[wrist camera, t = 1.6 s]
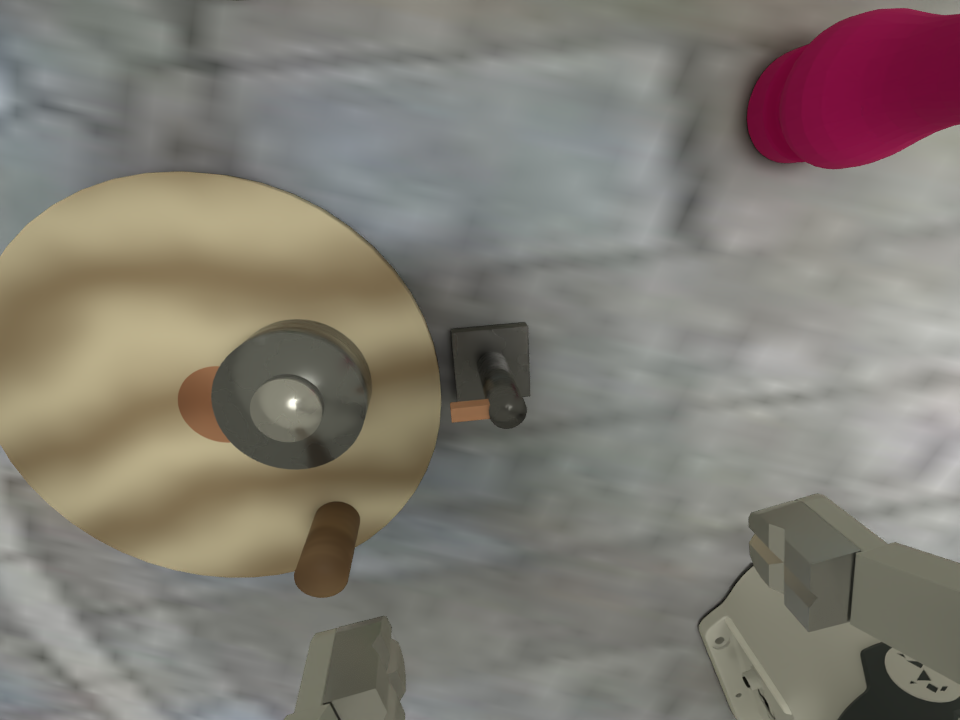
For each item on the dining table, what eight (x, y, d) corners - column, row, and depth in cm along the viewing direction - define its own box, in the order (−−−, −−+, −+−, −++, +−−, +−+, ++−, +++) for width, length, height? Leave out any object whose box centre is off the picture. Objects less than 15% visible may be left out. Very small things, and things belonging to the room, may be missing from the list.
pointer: (525, 322, 32) (553, 363, 25) (527, 390, 34) (555, 448, 26) (443, 329, 32) (447, 373, 24) (449, 398, 33) (455, 458, 26)
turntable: (481, 507, 35) (492, 575, 29) (132, 600, 34) (68, 689, 28) (367, 118, 26) (347, 96, 19) (-109, 241, 25) (-280, 258, 19)
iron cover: (389, 424, 30) (383, 455, 26) (265, 457, 30) (243, 493, 26) (346, 303, 27) (333, 320, 24) (209, 339, 27) (176, 362, 24)
